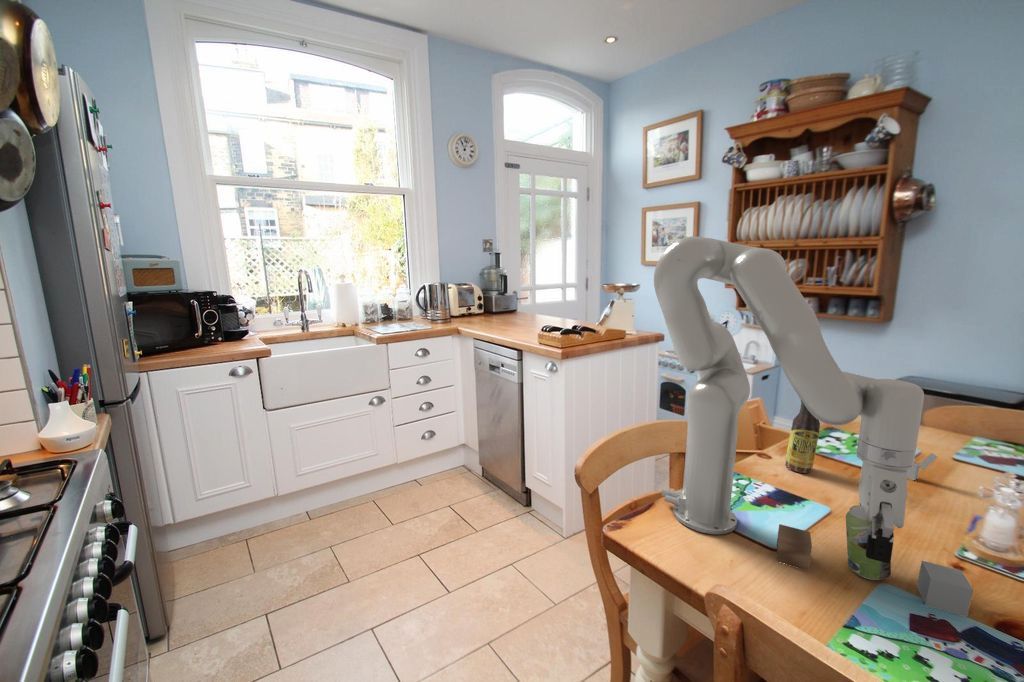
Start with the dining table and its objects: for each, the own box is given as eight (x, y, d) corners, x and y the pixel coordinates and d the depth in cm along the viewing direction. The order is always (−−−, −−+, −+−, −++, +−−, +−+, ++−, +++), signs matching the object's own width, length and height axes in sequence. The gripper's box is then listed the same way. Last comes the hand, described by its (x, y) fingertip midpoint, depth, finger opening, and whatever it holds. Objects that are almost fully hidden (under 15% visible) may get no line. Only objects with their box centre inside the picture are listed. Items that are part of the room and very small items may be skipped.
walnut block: (776, 562, 83) (779, 537, 82) (776, 547, 88) (779, 524, 87) (808, 571, 81) (812, 546, 80) (806, 555, 85) (810, 531, 84)
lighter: (894, 474, 117) (899, 445, 115) (897, 473, 118) (902, 444, 116) (930, 486, 111) (936, 456, 109) (932, 484, 112) (938, 454, 110)
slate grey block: (925, 605, 73) (930, 578, 72) (916, 586, 78) (921, 560, 77) (966, 617, 71) (973, 589, 70) (955, 597, 75) (961, 570, 74)
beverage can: (897, 587, 77) (909, 524, 75) (849, 581, 78) (859, 519, 76) (876, 563, 83) (886, 504, 81) (831, 558, 84) (840, 499, 82)
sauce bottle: (787, 472, 118) (796, 399, 114) (782, 462, 124) (791, 392, 120) (816, 476, 116) (827, 402, 112) (810, 466, 121) (820, 395, 118)
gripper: (929, 479, 67) (912, 581, 70) (901, 439, 82) (888, 524, 85) (866, 468, 71) (853, 565, 74) (850, 431, 85) (839, 514, 88)
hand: (872, 543), depth 79 cm, fingers open, 9 cm apart
